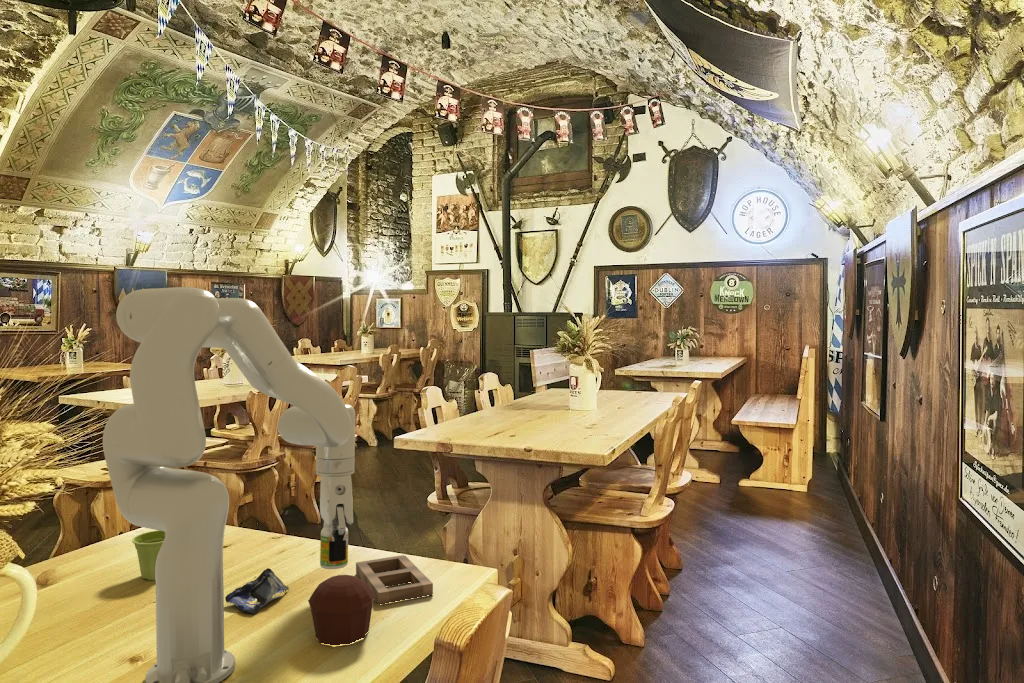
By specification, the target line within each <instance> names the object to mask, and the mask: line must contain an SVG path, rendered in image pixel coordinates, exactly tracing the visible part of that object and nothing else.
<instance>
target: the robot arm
mask: <svg viewBox="0 0 1024 683" xmlns="http://www.w3.org/2000/svg"><path fill="white" fill-rule="evenodd" d="M115 316H116V317H115V318H116V322H117V325H118V327H119V329H120V331H121V332H122V333H123V334H124V335H125V336H126V337H127V338H129V339H131V340H133V341H134V342H137V343H140V344H139V346H138V348H137V350H136V351H135V353H134V356H133V358H132V362H131V365H130V370H129V381H130V382H129V383H130V389H131V395H132V400H133V403H128V404H126V405H125V404H124V405H123V406H120V407H119V408H117V409H116V410H115V411H114V412H113V413H112V414H111V415H110V417H109V418H108V419H107V421H106V423H105V426H104V429H103V434H102V450H103V455H104V460H105V463H106V467H107V470H108V475H109V479H110V480H109V481H110V484H111V487H112V491H113V495H114V498H115V503H116V505H117V508H118V510H119V513H120V514H121V515H122V517H123V518H124V520H126V521H127V522H129V523H130V524H132V525H134V526H136V527H139V528H140V527H141V528H144V529H149V530H154V531H157V530H160V531H163V532H165V539H164V542H163V544H162V546H161V548H160V550H159V553H158V556H157V559H156V566H155V580H154V581H155V628H156V631H155V635H156V637H155V638H156V639H155V640H156V663H154V664H153V665H152V666H150V668H149V669H148V670H147V671H146V674H145V683H220V682H223V681H224V680H225V679H226V678H228V677H229V676H230V675H231V674H232V673H233V671H234V670H235V668H236V667H235V666H236V657H235V655H234V654H233V653H232V652H230V651H229V650H226V649H225V606H224V605H225V604H224V603H225V602H224V601H225V600H224V599H225V597H224V591H225V590H224V540H225V538H224V537H225V532H226V525H227V520H228V514H229V511H230V510H229V509H230V508H229V507H230V495H229V491H228V489H227V487H226V484H224V482H223V481H222V480H220V479H219V478H218V477H216V476H215V475H212V474H211V473H208V472H202V471H197V470H189V469H180V468H184V467H189V466H191V465H194V464H196V463H197V462H198V461H199V460H200V459H201V458H202V457H203V455H204V453H205V450H206V445H207V436H206V431H205V426H204V420H203V415H202V411H201V406H200V400H199V396H198V393H197V392H198V391H197V386H196V380H195V365H196V362H197V358H198V356H199V353H200V352H201V349H203V348H214V349H216V348H217V349H218V348H221V349H223V350H224V351H225V352H226V353H227V355H228V356H229V357H230V358H231V360H232V361H233V362H234V364H235V365H236V366H237V368H238V369H239V370H240V372H241V373H242V375H243V377H244V378H245V379H246V380H247V382H248V383H249V385H251V387H252V388H254V390H257V391H258V392H260V393H262V394H264V395H266V396H269V397H271V398H274V399H276V400H279V401H282V402H285V403H288V404H290V405H292V406H291V407H289V408H287V409H286V410H284V411H283V412H282V413H281V414H280V415H279V418H278V420H277V431H278V435H279V436H280V437H281V438H282V439H283V440H284V441H285V442H287V443H289V444H293V445H299V446H310V447H311V446H312V447H313V446H315V474H316V476H320V479H319V480H320V489H319V490H320V491H319V492H320V493H319V511H320V512H319V513H320V517H321V519H322V520H323V527H322V529H323V528H324V527H326V525H325V523H324V521H325V522H326V524H327V525H329V526H330V535H331V541H329V561H330V562H334V561H342V560H345V559H346V530H345V529H346V527H347V526H346V525H347V524H348V526H349V525H353V523H354V508H353V507H354V503H353V502H354V501H353V484H352V475H353V474H355V464H356V463H355V461H356V460H355V456H356V455H355V454H356V453H355V447H356V444H355V442H356V410H355V408H354V407H353V406H352V405H351V404H346V403H344V401H343V400H342V398H341V396H340V395H339V393H338V392H337V391H336V390H335V388H334V387H333V386H332V385H331V384H330V383H328V381H326V380H325V379H323V378H322V377H321V376H319V375H317V374H316V373H315V372H313V371H312V370H311V369H309V368H308V367H306V366H305V365H303V364H302V363H301V362H298V361H297V360H296V359H295V358H294V357H293V356H292V354H291V352H290V351H289V349H288V348H287V346H285V344H284V342H283V341H282V340H281V338H280V336H279V335H278V333H277V331H275V328H274V327H273V326H272V324H271V322H270V321H269V319H268V318H267V316H266V315H265V314H264V312H263V310H262V309H261V308H260V307H259V306H258V305H257V303H255V302H253V301H252V300H250V299H246V298H242V297H223V298H221V297H219V298H216V297H215V296H214V294H212V293H211V292H210V291H208V290H206V289H202V288H199V287H188V286H177V287H176V286H174V287H162V288H142V289H136V290H134V291H131V292H130V293H128V294H126V295H125V296H124V297H123V298H121V300H120V301H119V303H118V306H117V308H116V313H115ZM178 468H179V469H178ZM333 522H337V523H338V524H335V525H333ZM346 523H347V524H346ZM334 528H337V529H336V530H335V533H334Z"/></svg>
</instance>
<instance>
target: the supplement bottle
mask: <svg viewBox="0 0 1024 683" xmlns="http://www.w3.org/2000/svg"><path fill="white" fill-rule="evenodd" d="M324 523H325V525H326V527H324V526H323V527H324V528H323V527H322V529H321V531H320V547H319V548H320V550H319V552H320V554H319V565H320V567H321V568H322V569H326V570H339V569H342V568H345V567H346V566H347V565H348V561H349V529H348V527H347V526H346V529H345V530H346V559H345V560H342V561H334V562H330V561H329V541H331V535H330V526H329V525H327V524H326V522H325V521H324V520H323V524H324ZM335 524H338V523H337V522H333V525H335ZM336 529H337V528H334V533H335V530H336Z"/></svg>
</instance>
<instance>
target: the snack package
mask: <svg viewBox="0 0 1024 683" xmlns="http://www.w3.org/2000/svg"><path fill="white" fill-rule="evenodd" d="M255 578H256V579H255ZM253 579H254V580H251V581H248V582H246V583H245V584H243V585H242V586H240V587H236V588H235V589H234V590H233V591H231V592H230V593H228V594H226V596H225V597H224V599H225V600H224V601H225V602H226V603H228V604H233V605H235V606H236V607H237V608H238V610H239V611H241V613H243V614H252V615H255V614H257V613H258V612H259V611H260V610H261V609H262V608H263V607H265V606H266V605H268V604H269V602H271V601H273V600H274V599H277V598H278V599H279V598H281V597H283V595H282V596H281V595H280V596H279V595H276V596H273V595H275V594H277V593H282V592H284V590H288V592H289V590H290V587H289V586H288V585H287V586H286V585H285V584H284V582H283V581H282V580H281V579H280V578H279V577H278V576H277V574H275V572H274V571H273V570H272V569H271V568H269V567H268V568H266V569H264V570H263V571H262V572H261V573H260V574H259V575H258V577H257V576H254V577H253ZM255 599H257V602H255V603H256V604H255V603H254V604H250V603H252V601H255ZM252 605H254V606H252Z"/></svg>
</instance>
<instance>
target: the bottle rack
mask: <svg viewBox="0 0 1024 683" xmlns="http://www.w3.org/2000/svg"><path fill="white" fill-rule="evenodd" d="M404 555H405V554H402V555H396V556H390V557H383V558H377V559H369V560H362V561H358V562H355V574H356V576H357V575H358V576H357V578H360V579H361V580H363V581H365V582H366V583H367V585H368V586H369V587H370V588H371V590H372V591H373V592H374V594H375V595H376V597H375V600H376V601H377V602H376V601H375V600H374V601H375V602H376V604H377V603H378V604H379V605H380V604H385V603H389V602H395V601H400V600H405V599H411V598H417V597H422V596H427V595H432V594H433V595H434V583H433V582H432V581H431V580H430V579H429V577H427V576H426V575H425V574H424V573H423V571H422V570H420V569H419V568H418V567H417V566H416V565H415V564H414V563H413V561H411V560H410V559H409V558H408V557H407V556H406V555H405V556H404ZM396 569H398V570H396ZM390 570H392V571H390ZM384 571H386V572H384ZM379 572H380V573H379ZM408 582H411V583H412V584H411V583H408ZM403 583H408V584H403ZM398 584H403V585H398ZM392 585H397V586H392ZM386 586H391V587H386ZM378 604H377V605H378ZM379 605H378V606H379Z"/></svg>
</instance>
